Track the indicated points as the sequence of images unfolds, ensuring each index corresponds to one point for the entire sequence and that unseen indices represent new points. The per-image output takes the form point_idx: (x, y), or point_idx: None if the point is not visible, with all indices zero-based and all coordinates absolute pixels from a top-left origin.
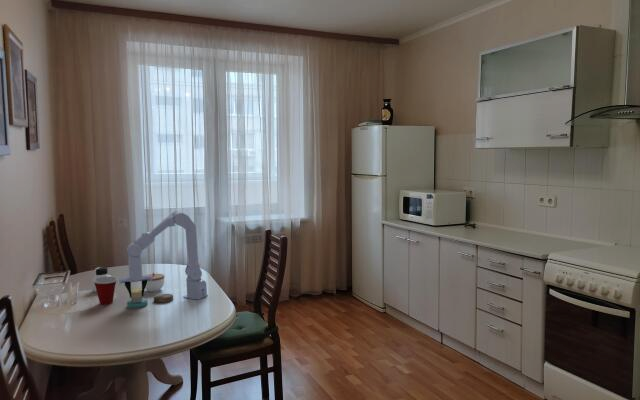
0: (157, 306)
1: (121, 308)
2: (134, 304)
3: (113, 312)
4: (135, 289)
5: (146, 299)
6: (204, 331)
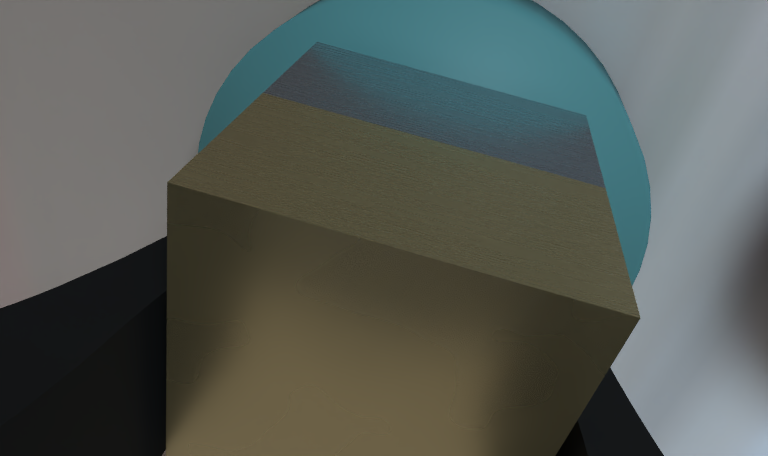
0: (701, 438)
1: (140, 168)
2: None
3: (44, 275)
4: (309, 384)
5: (644, 230)
6: None
